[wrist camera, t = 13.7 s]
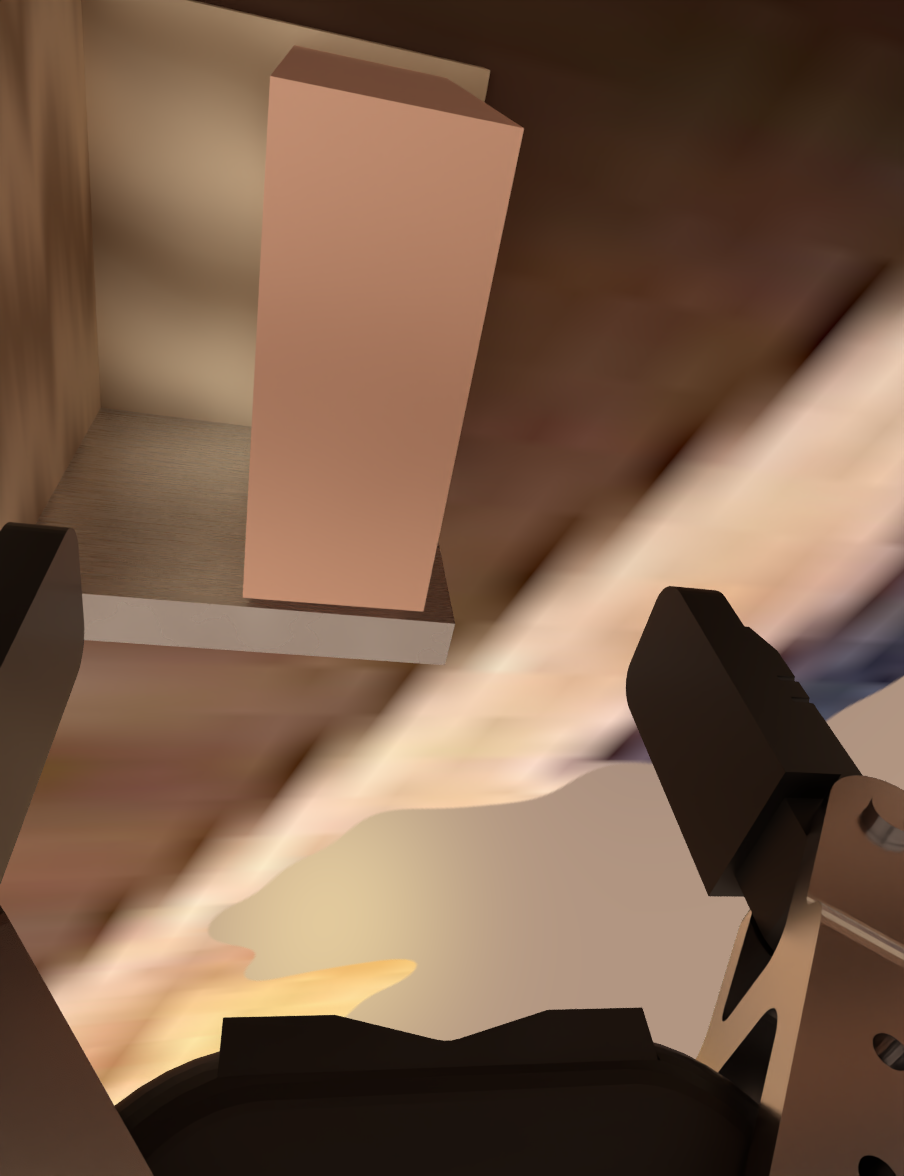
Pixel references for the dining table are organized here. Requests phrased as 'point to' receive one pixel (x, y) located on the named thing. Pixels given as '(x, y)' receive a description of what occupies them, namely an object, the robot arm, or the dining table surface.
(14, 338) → the plywood shelf
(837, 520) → the dining table surface
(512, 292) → the dining table surface
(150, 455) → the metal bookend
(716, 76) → the dining table surface
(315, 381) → the terracotta book
